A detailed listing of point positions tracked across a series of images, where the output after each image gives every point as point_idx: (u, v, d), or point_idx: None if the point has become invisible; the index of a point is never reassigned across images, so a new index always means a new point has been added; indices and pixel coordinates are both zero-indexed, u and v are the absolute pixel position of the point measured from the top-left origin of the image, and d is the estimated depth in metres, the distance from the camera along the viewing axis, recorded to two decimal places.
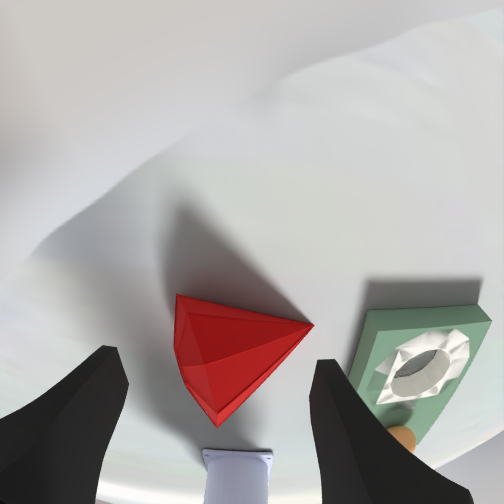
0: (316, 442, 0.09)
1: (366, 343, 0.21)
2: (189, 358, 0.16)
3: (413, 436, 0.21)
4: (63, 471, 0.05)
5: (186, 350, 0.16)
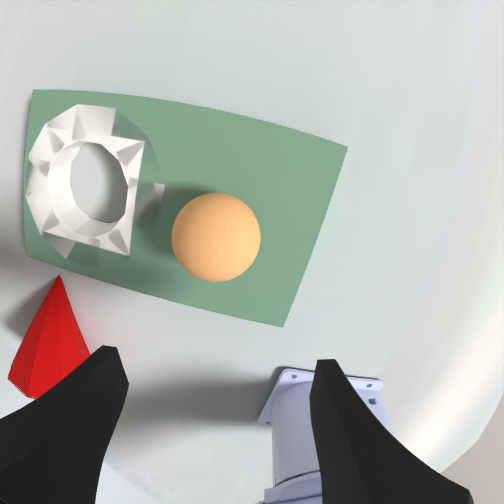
0: (316, 442, 0.09)
1: None
2: None
3: (185, 206, 0.13)
4: (63, 471, 0.05)
5: None
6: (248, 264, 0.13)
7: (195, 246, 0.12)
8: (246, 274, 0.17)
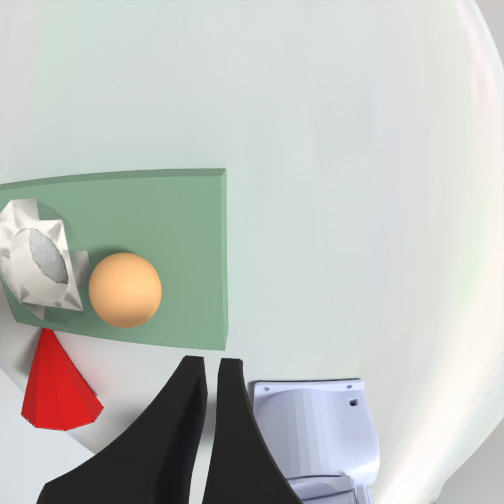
0: None
1: None
2: None
3: None
4: (171, 501, 0.05)
5: None
6: (149, 310, 0.14)
7: (99, 305, 0.13)
8: (174, 311, 0.18)
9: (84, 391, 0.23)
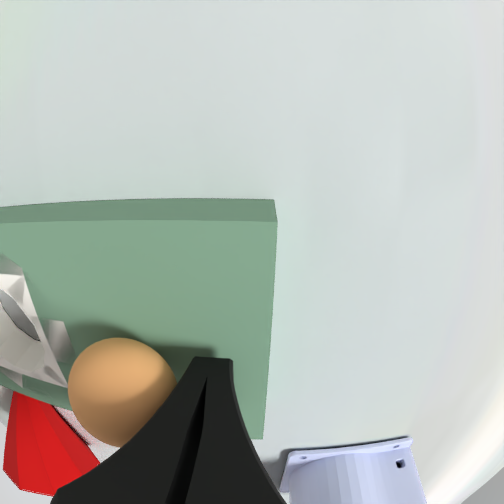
0: None
1: None
2: None
3: None
4: (184, 503, 0.05)
5: None
6: None
7: (87, 427, 0.07)
8: None
9: (74, 447, 0.16)
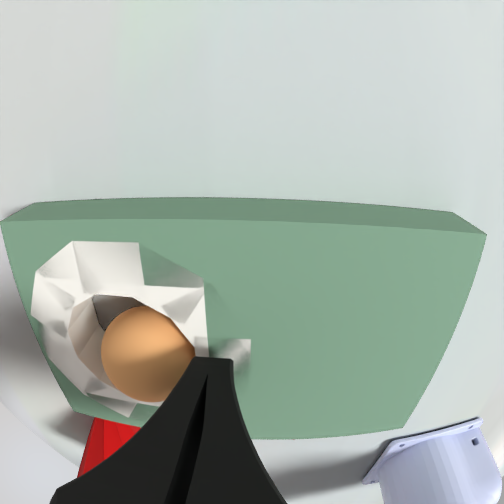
0: None
1: None
2: None
3: (182, 357, 0.11)
4: (184, 503, 0.05)
5: None
6: None
7: None
8: (367, 401, 0.12)
9: None
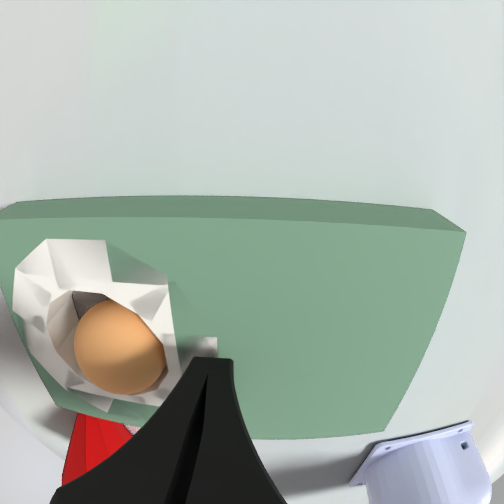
0: None
1: None
2: None
3: (149, 348, 0.10)
4: (183, 503, 0.05)
5: None
6: None
7: None
8: (343, 403, 0.12)
9: None
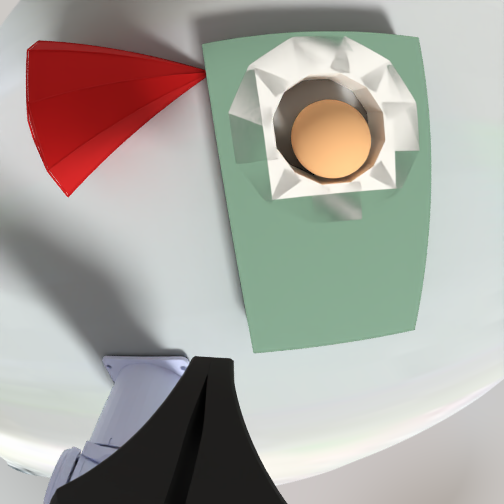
0: None
1: None
2: None
3: (354, 171, 0.14)
4: (183, 503, 0.05)
5: None
6: None
7: None
8: (297, 311, 0.18)
9: None
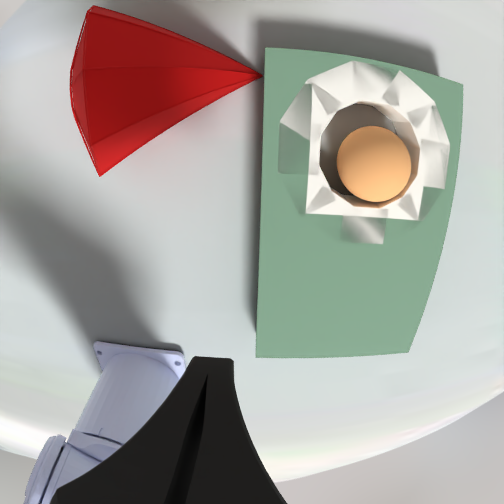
0: None
1: None
2: None
3: None
4: (183, 503, 0.05)
5: None
6: None
7: None
8: (306, 322, 0.18)
9: None
